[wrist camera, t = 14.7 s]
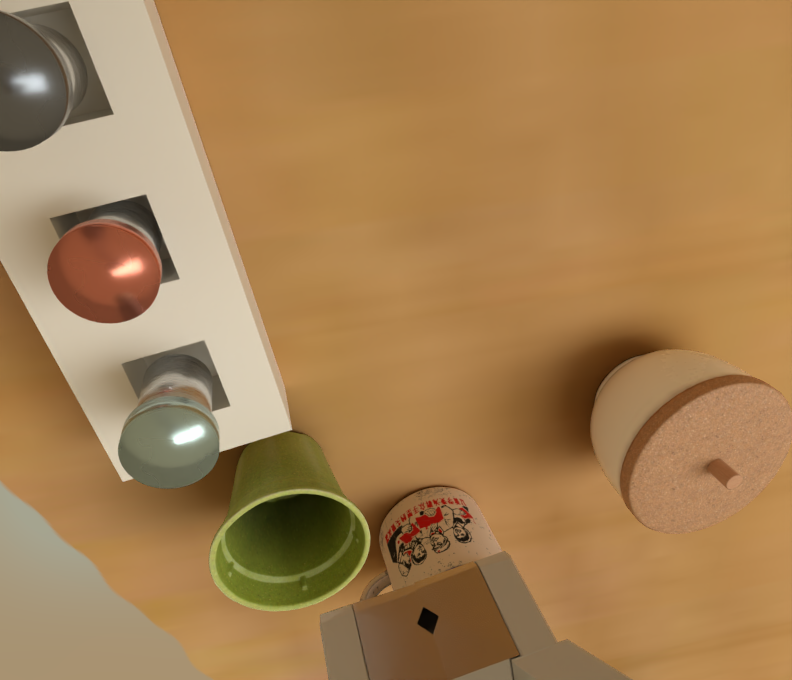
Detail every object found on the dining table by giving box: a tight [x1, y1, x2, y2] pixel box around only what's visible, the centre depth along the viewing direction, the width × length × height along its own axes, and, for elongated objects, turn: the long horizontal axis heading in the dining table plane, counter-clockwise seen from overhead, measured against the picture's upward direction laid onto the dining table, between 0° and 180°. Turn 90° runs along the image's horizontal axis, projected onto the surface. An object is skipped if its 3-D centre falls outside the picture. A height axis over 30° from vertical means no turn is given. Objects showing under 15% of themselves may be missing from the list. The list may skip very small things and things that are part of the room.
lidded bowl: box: [590, 349, 792, 534], centre depth 44 cm, size 13×13×11 cm
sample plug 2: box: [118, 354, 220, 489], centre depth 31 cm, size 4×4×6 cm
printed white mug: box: [360, 487, 502, 601], centre depth 44 cm, size 12×9×12 cm
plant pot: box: [209, 431, 370, 611], centre depth 39 cm, size 9×9×9 cm
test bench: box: [0, 0, 292, 482], centre depth 31 cm, size 26×10×5 cm, turn 11°
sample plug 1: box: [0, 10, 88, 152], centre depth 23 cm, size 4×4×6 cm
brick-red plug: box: [47, 200, 162, 324], centre depth 29 cm, size 4×4×6 cm
